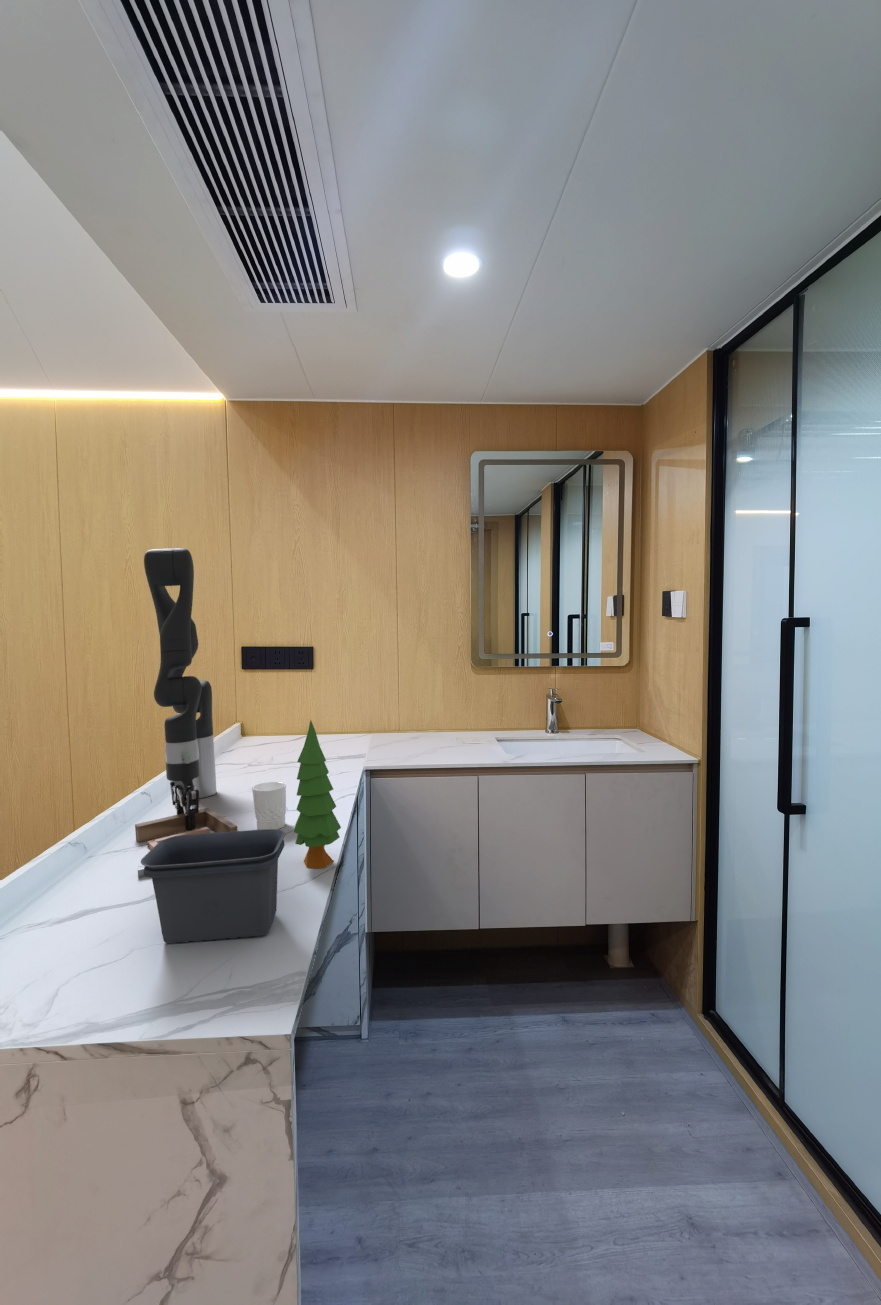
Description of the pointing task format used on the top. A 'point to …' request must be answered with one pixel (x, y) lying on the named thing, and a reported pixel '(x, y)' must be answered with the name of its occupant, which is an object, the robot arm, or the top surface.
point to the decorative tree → (315, 804)
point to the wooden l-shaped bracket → (182, 825)
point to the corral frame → (198, 831)
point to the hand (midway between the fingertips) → (186, 826)
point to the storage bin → (215, 884)
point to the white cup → (270, 805)
